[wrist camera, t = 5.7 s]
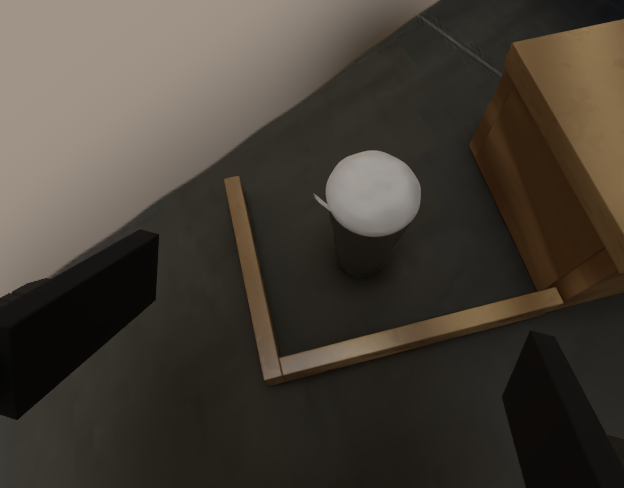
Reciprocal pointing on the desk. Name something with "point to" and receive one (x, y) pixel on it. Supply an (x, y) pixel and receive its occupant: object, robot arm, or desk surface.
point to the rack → (510, 198)
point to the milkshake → (369, 209)
